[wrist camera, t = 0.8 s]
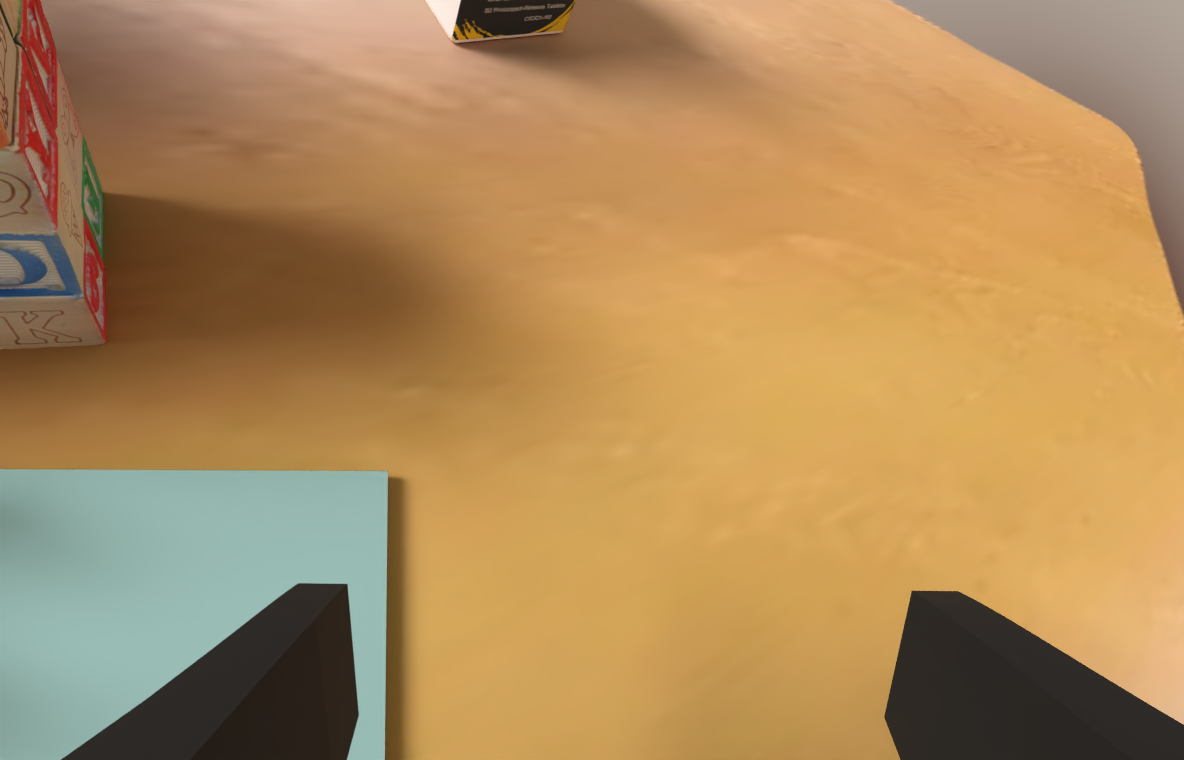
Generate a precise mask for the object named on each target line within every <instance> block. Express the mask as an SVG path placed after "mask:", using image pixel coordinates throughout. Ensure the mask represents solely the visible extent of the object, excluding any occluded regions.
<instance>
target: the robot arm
mask: <svg viewBox="0 0 1184 760" xmlns="http://www.w3.org/2000/svg"><path fill="white" fill-rule="evenodd" d="M358 717H359V711H358V699H357V688H356V676H355V665H354V653H353V642H352V630H351V618H350V607H349V595H348V584H320V583H298V584H296V585H295V586H293V587H292V588H291V589H289V590H288V591H286V592H285V593H284V594H282V595H281V596H280V597H278V598H277V599H276V600H274V601H273V602H272V603H270V604H269V605H268V606H267V607H265V608H264V609H263V610H261V611H260V612H259V613H258V614H256V615H255V616H254V617H252V618H251V619H250V620H249V621H247V622H246V623H245V624H244V625H242V626H241V627H240V628H238V629H237V630H236V631H235V632H233V633H232V634H231V635H229V636H228V637H227V638H226V639H224V640H223V641H222V642H220V643H219V644H218V645H217V646H215V647H214V648H213V649H211V650H210V651H209V652H207V653H206V654H205V655H204V656H202V657H201V658H200V659H198V660H197V661H196V662H194V663H193V664H192V665H190V666H189V667H188V668H186V669H185V670H184V671H183V672H181V673H180V674H179V675H177V676H176V677H175V678H173V679H172V680H171V681H169V682H168V683H167V684H166V685H164V686H163V687H162V688H160V689H159V690H158V691H156V692H155V693H154V694H152V695H151V696H150V697H148V698H147V699H146V700H144V701H143V702H142V703H140V704H139V705H137V706H136V707H134V708H133V709H132V710H130V711H129V712H127V713H126V714H125V715H123V716H122V717H120V718H119V719H118V720H116V721H115V722H113V723H112V724H110V725H109V726H108V727H106V728H105V729H103V730H102V731H101V732H99V733H98V734H96V735H95V736H94V737H92V738H91V739H89V740H88V741H86V742H85V743H84V744H82V745H81V746H79V747H78V748H77V749H75V750H74V751H72V752H71V753H69V754H68V755H67V756H65V757H64V758H62V759H61V760H347V758H348V754H349V750H350V746H351V743H352V739H353V735H354V732H355V728H356V724H357V720H358ZM885 720H886V723H887V725H888V728H889V730H890V733H891V736H892V738H893V741H894V744H895V746H896V749H897V751H898V754H899V757H900V759H901V760H1184V725H1183V724H1181V723H1179V722H1178V721H1176V720H1174V719H1173V718H1171V717H1169V716H1168V715H1166V714H1164V713H1162V712H1161V711H1159V710H1157V709H1156V708H1154V707H1152V706H1151V705H1149V704H1147V703H1146V702H1144V701H1142V700H1141V699H1139V698H1137V697H1136V696H1134V695H1132V694H1131V693H1129V692H1127V691H1126V690H1124V689H1123V688H1121V687H1119V686H1118V685H1116V684H1114V683H1113V682H1111V681H1109V680H1108V679H1106V678H1104V677H1103V676H1101V675H1099V674H1098V673H1096V672H1095V671H1093V670H1091V669H1090V668H1088V667H1086V666H1085V665H1083V664H1081V663H1080V662H1078V661H1077V660H1075V659H1073V658H1072V657H1070V656H1068V655H1067V654H1065V653H1064V652H1062V651H1060V650H1059V649H1057V648H1055V647H1054V646H1052V645H1050V644H1049V643H1047V642H1046V641H1044V640H1042V639H1041V638H1039V637H1037V636H1036V635H1034V634H1032V633H1031V632H1029V631H1027V630H1026V629H1024V628H1022V627H1021V626H1019V625H1017V624H1016V623H1014V622H1012V621H1011V620H1009V619H1007V618H1006V617H1004V616H1002V615H1001V614H999V613H997V612H995V611H994V610H992V609H990V608H988V607H987V606H985V605H983V604H981V603H979V602H978V601H976V600H974V599H972V598H970V597H968V596H966V595H964V594H962V593H960V592H958V591H912V593H911V597H910V602H909V607H908V611H907V616H906V620H905V625H904V630H903V634H902V639H901V643H900V648H899V652H898V657H897V662H896V666H895V671H894V675H893V680H892V685H891V689H890V694H889V698H888V703H887V708H886V712H885Z"/></svg>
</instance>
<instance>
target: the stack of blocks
mask: <svg viewBox="0 0 1184 760" xmlns="http://www.w3.org/2000/svg"><path fill="white" fill-rule="evenodd" d="M105 343H106V291H105V267H104V264H103V192H102V188H101V185H100V182H99V179H98V176H97V173H96V169H95V167H94V164H93V162H92V159H91V156H90V153H89V150H88V147H87V144H86V141H85V139H84V137H83V135H82V132H81V129H80V126H79V123H78V120H77V116H76V113H75V110H74V107H73V104H72V101H71V97H70V94H69V91H68V88H67V85H66V82H65V79H64V76H63V73H62V70H61V66H60V63H59V60H58V59H57V56H56V48H55V45H54V41H53V38H52V35H51V31H50V28H49V25H48V22H47V20H46V18H45V16H44V13H43V10H42V6H41V2H40V0H0V349H23V348H46V347H67V346H88V345H101V344H105Z"/></svg>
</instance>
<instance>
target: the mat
mask: <svg viewBox="0 0 1184 760" xmlns="http://www.w3.org/2000/svg"><path fill="white" fill-rule="evenodd" d="M387 507H388V471H250V470H52V469H0V760H61V759H62V758H64V757H65V756H67V755H68V754H69V753H71V752H72V751H74V750H75V749H77V748H78V747H79V746H81V745H82V744H84V743H85V742H86V741H88V740H89V739H91V738H92V737H94V736H95V735H96V734H98V733H99V732H101V731H102V730H103V729H105V728H106V727H108V726H109V725H110V724H112V723H113V722H115V721H116V720H118V719H119V718H120V717H122V716H123V715H125V714H126V713H127V712H129V711H130V710H132V709H133V708H134V707H136V706H137V705H139V704H140V703H142V702H143V701H144V700H146V699H147V698H148V697H150V696H151V695H152V694H154V693H155V692H156V691H158V690H159V689H160V688H162V687H163V686H164V685H166V684H167V683H168V682H169V681H171V680H172V679H173V678H175V677H176V676H177V675H179V674H180V673H181V672H183V671H184V670H185V669H186V668H188V667H189V666H190V665H192V664H193V663H194V662H196V661H197V660H198V659H200V658H201V657H202V656H204V655H205V654H206V653H207V652H209V651H210V650H211V649H213V648H214V647H215V646H217V645H218V644H219V643H220V642H222V641H223V640H224V639H226V638H227V637H228V636H229V635H231V634H232V633H233V632H235V631H236V630H237V629H238V628H240V627H241V626H242V625H244V624H245V623H246V622H247V621H249V620H250V619H251V618H252V617H254V616H255V615H256V614H258V613H259V612H260V611H261V610H263V609H264V608H265V607H267V606H268V605H269V604H270V603H272V602H273V601H274V600H276V599H277V598H278V597H280V596H281V595H282V594H284V593H285V592H286V591H288V590H289V589H291V588H292V587H293V586H295V585H296V584H298V583H320V584H348V595H349V607H350V618H351V630H352V642H353V653H354V665H355V676H356V688H357V699H358V711H359V717H358V720H357V724H356V728H355V732H354V735H353V739H352V743H351V746H350V750H349V754H348V758H347V760H385V692H386V599H387Z"/></svg>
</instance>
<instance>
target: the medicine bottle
mask: <svg viewBox="0 0 1184 760" xmlns="http://www.w3.org/2000/svg"><path fill="white" fill-rule="evenodd" d="M425 1H426V3H427V4H428V6H429V7H430V9H431V11H432V12H433V14H434V15H435V17H436V18H437V20H438V22H439V23H440V25H441V26H442V28H443V29H444V31H445V32H446V34H447V36H448V37H449V39H450V40H451V41H452V42H454V43H461V42H471V41H482V40H492V39H502V38H512V37H522V36H533V35H543V34H553V33H561V32H563V30H564V29H565V26H566V24H567V21H568V19H569V16H570V14H571V11H572V9H573V6H574V4H575V1H576V0H425Z"/></svg>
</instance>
